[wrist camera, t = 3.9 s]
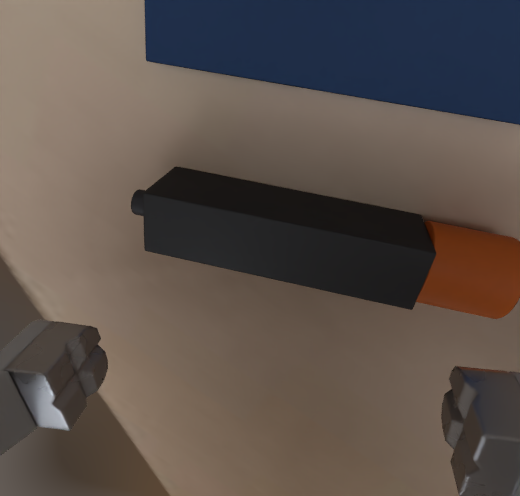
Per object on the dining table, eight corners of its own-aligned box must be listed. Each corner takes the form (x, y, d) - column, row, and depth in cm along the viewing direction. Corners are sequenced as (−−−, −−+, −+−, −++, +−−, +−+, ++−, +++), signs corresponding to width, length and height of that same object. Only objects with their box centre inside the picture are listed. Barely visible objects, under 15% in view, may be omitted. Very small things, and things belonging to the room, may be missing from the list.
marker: (505, 223, 14) (540, 265, 12) (472, 287, 16) (496, 336, 13) (151, 154, 16) (114, 178, 13) (153, 218, 17) (119, 252, 15)
